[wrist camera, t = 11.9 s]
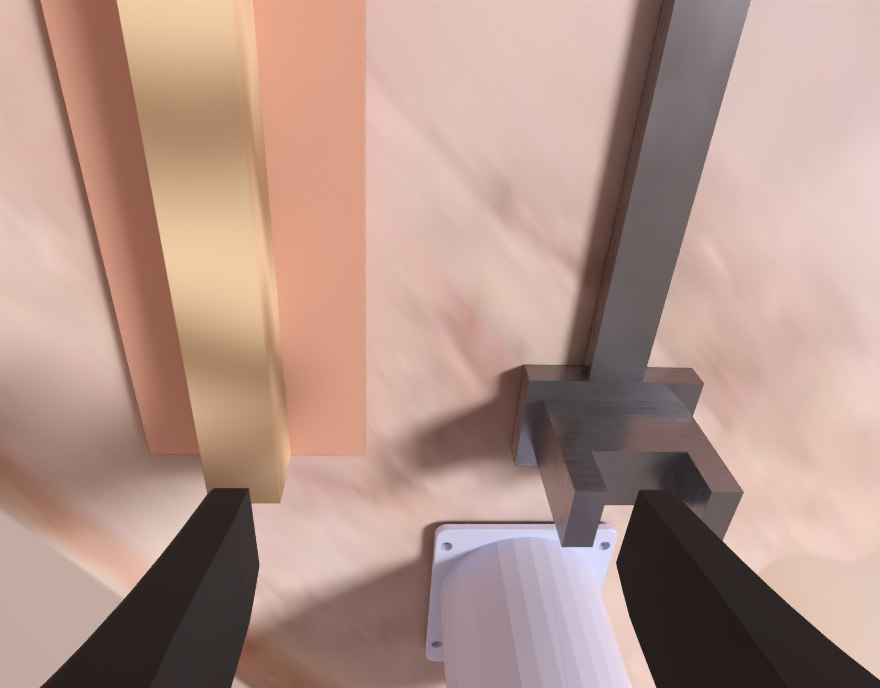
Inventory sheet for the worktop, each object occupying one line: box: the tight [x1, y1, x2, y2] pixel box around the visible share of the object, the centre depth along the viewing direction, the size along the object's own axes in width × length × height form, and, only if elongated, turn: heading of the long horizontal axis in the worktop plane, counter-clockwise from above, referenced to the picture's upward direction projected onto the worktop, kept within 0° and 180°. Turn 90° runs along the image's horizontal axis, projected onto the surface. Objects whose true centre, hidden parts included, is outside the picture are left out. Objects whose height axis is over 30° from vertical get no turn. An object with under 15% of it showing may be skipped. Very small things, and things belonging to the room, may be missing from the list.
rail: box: [117, 0, 291, 503], centre depth 16 cm, size 24×2×2 cm, turn 176°
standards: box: [511, 0, 751, 547], centre depth 16 cm, size 24×6×6 cm, turn 176°
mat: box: [40, 0, 365, 456], centre depth 17 cm, size 24×8×1 cm, turn 176°
